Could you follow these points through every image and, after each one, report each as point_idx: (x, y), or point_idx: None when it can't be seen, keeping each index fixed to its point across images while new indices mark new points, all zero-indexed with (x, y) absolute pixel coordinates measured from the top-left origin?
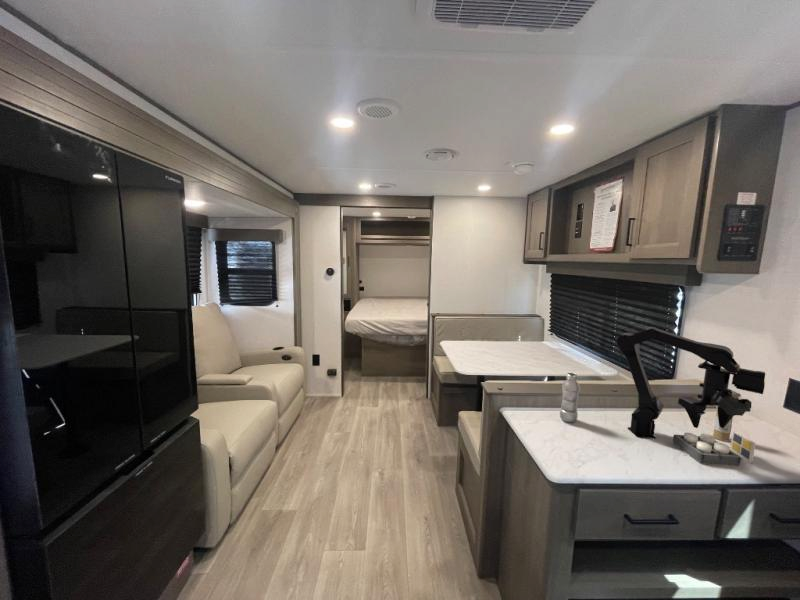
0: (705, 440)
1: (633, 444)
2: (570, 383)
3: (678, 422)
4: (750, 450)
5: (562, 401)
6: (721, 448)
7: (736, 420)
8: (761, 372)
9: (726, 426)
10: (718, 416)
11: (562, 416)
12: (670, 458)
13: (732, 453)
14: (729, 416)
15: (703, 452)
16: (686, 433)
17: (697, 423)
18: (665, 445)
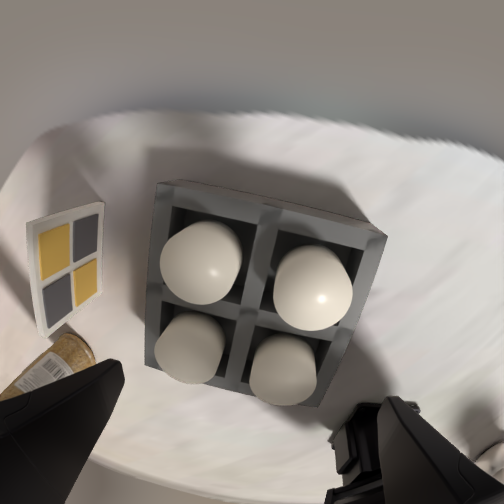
0: (217, 342)
1: (478, 366)
2: None
3: (146, 442)
4: (68, 222)
5: None
6: (228, 245)
7: (3, 379)
8: None
9: (42, 374)
10: (87, 455)
11: None
12: (457, 277)
13: (169, 221)
14: (14, 425)
15: (338, 259)
16: (288, 399)
17: (424, 428)
18: (373, 362)
